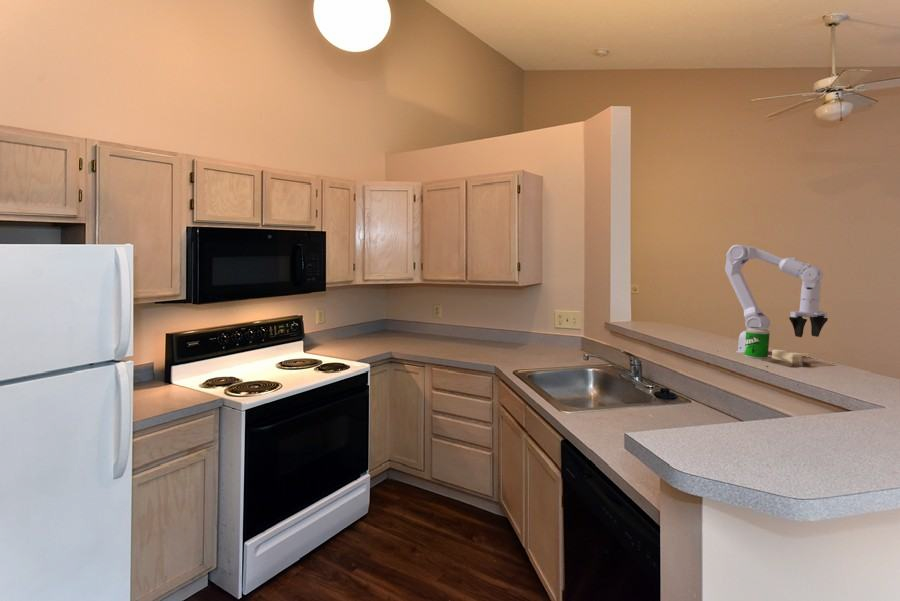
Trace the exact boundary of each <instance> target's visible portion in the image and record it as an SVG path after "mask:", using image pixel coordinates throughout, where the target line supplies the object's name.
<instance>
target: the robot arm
mask: <svg viewBox="0 0 900 601" xmlns="http://www.w3.org/2000/svg"><path fill="white" fill-rule="evenodd" d="M725 257H726V261H725V267H724V271H725V273H726V276H727V278H728V280H729V282H730V285H731V287H732V288H733V290H734V292H735V295H736V297H737V300H738V301H739V304H740V305H741V308H742V309H743V317H744V320H745V322H744V324H745V328H746V329H748V328H749V327H762V328H767V329H768V328H769V327H770V326H771V325H770V324H771V321H770V319H769V317H768V316H767V315H766V314H764V311H763V310H762V309H761V308H760V307H759V306H758V303H757V302H756V298H755V297H754V295H753V293H752V290H751V289H750V287H749V285H748V282H747V281H746V278H745V276H744V275H743V273H742V269H743V267H744V265H745V264H746V263H747V262H748V261H749V260H755V259H756V260H757V259H758V260H761V261H763V262H766V263H768V264H771V265H774V266H776V267H779V270H780V271H781V272H782V273H784V274H787V275H789V276H793V277H794V278H797V279H801V280H802V283H801V290H800V300H799V302H800V303H799V310H797V311H796V310H795V311H790V315H789V317H788V319H789V321H790V323H791V325H792V327H793V331H794V332H793V333H794V335H795V337H796V338H802V337H803V335H804V328H805V326H806V323H807V321H808V319H807V318H809V320H810V324H811V325H810V326H811V330H810V331H811V337H816V338H817V337H818V338H819V336H820V335H821V334H820V333H821V331H822V328H824V325H825V324H826V323H827V322H828V321H829V320H828V319H829V318H828V312H827V311H823V310H821V311H820V304H821V303H820V301H821V300H820V299H821V285H822V281H821V280H822V279H823V278H824V271H823V270H822V269H821V268H820V267H818V266H812V264H811V263H809V262H807V263H806V262H805V263H804V262H802V261H800V260H798V258H797V257H794V256H793V257H785V258H783V257H780V256H778V255H775V254H772V253H770V252H768V251H765V250H763V249H761V248H757V247H754V246H749V245H747V244H746V245H745V244H742V245H741V244H734V245H731V246H730V247H729V249H728V250H727V252H726V254H725ZM745 339H746V330H743V331H741V332H740V334H739V336H738V345H737V347H738V348H737V350H736V351H735V352H736V353H744V352H745Z"/></svg>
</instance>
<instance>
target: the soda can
mask: <svg viewBox="0 0 900 601" xmlns="http://www.w3.org/2000/svg"><path fill="white" fill-rule="evenodd" d="M745 331H746V339H745V352H743V353H744V357H745V358H749V359H755V360H764V357H769V345H770V334H771V332H770V330H768V328H762V327H749V328H748V329H747V328H746V329H745Z"/></svg>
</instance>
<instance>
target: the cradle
mask: <svg viewBox="0 0 900 601" xmlns="http://www.w3.org/2000/svg"><path fill="white" fill-rule="evenodd" d="M761 361H763V362H765V363H766V362H767V363H769V364H774V365H778V366H782V367H786V368H812V367H813V368H815V367H835V366H837V365H835V364H832V363H827V362H822V361H818V360H813V359H808V358H803V357H802V359H799V361H798V365H796V366H795V363H791V362H786V361H782V360H778V359H774V358H772V357H769V356H768V357H764V359H761Z"/></svg>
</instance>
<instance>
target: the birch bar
mask: <svg viewBox="0 0 900 601" xmlns="http://www.w3.org/2000/svg"><path fill="white" fill-rule="evenodd" d="M802 355H803V353H801V352H800V353H798V352H796V351H795V352H794V351H790V350H784V349H772V351H771V358H774V359H778V360H782V361H786V362H791V363H795V366H796V365H798V361H799V359H802V358H803V356H802Z"/></svg>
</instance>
